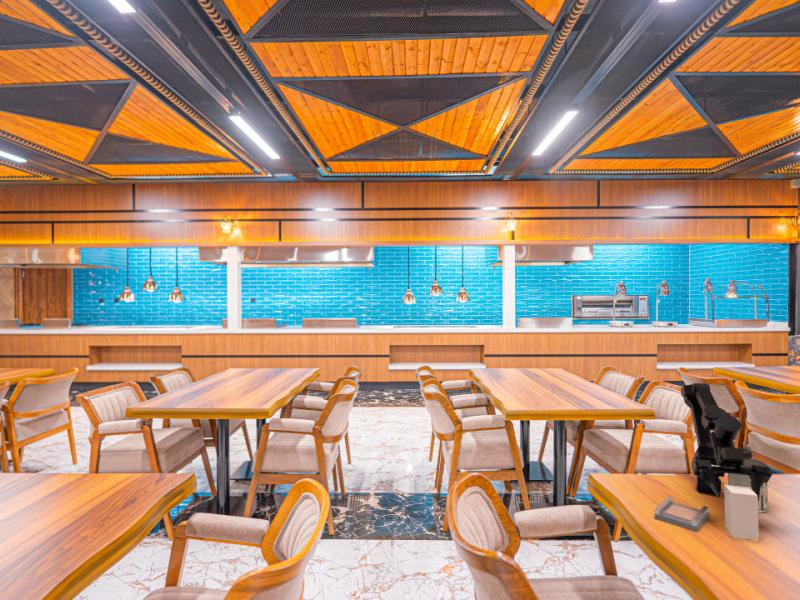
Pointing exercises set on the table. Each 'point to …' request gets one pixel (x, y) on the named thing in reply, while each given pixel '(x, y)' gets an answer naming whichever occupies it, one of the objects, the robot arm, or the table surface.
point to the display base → (681, 514)
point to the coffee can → (745, 482)
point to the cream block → (741, 512)
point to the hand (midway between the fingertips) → (738, 498)
